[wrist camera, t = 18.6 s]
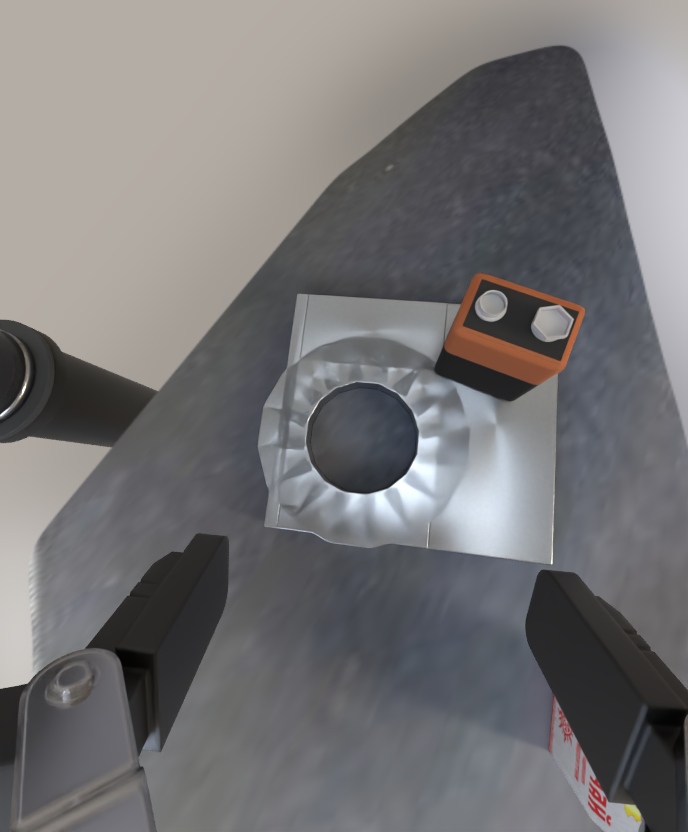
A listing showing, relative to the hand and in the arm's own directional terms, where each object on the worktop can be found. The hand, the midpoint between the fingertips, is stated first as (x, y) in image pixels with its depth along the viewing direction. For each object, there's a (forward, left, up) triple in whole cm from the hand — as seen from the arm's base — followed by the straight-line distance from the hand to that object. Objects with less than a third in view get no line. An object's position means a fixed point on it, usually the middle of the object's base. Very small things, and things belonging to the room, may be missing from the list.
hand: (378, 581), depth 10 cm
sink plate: (+2, +8, -23) cm, 24 cm away
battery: (+7, +13, -21) cm, 26 cm away
